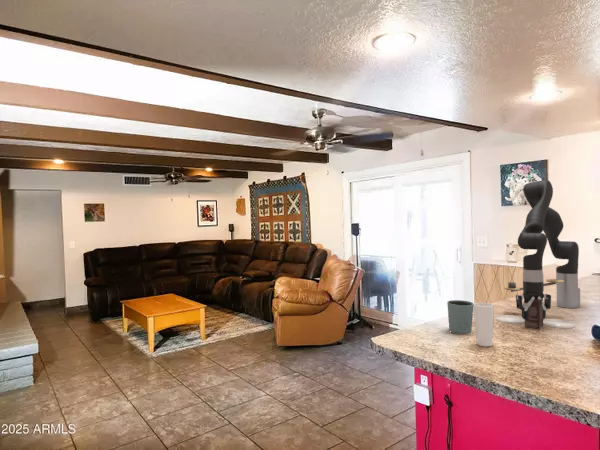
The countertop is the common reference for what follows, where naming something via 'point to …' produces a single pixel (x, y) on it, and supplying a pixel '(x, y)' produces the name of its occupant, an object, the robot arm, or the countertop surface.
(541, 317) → the box
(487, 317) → the drinking glass
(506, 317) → the dish low side
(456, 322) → the green cup
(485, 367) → the countertop surface
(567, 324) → the dish high side
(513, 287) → the balance
